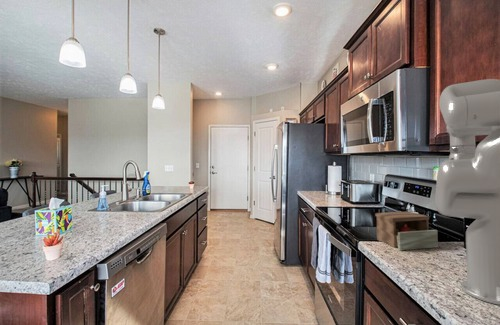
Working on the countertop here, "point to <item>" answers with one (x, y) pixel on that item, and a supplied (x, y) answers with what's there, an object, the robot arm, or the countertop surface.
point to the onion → (405, 229)
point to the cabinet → (398, 224)
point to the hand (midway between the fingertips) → (464, 196)
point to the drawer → (416, 239)
